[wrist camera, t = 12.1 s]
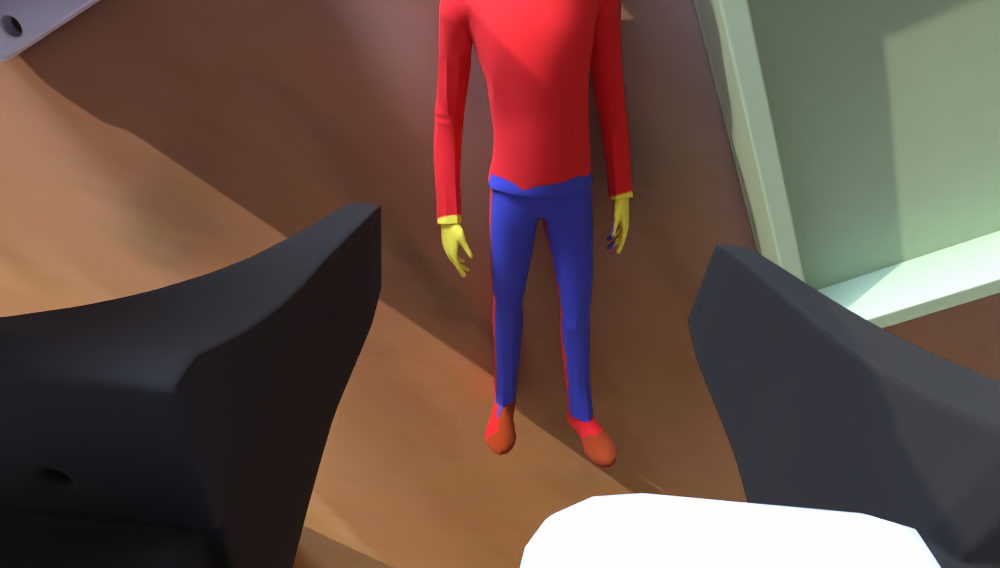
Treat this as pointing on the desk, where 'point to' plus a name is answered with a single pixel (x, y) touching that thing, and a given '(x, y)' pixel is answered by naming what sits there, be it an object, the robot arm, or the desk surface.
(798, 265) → the tray
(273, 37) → the desk surface
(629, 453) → the desk surface
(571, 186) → the character figure
